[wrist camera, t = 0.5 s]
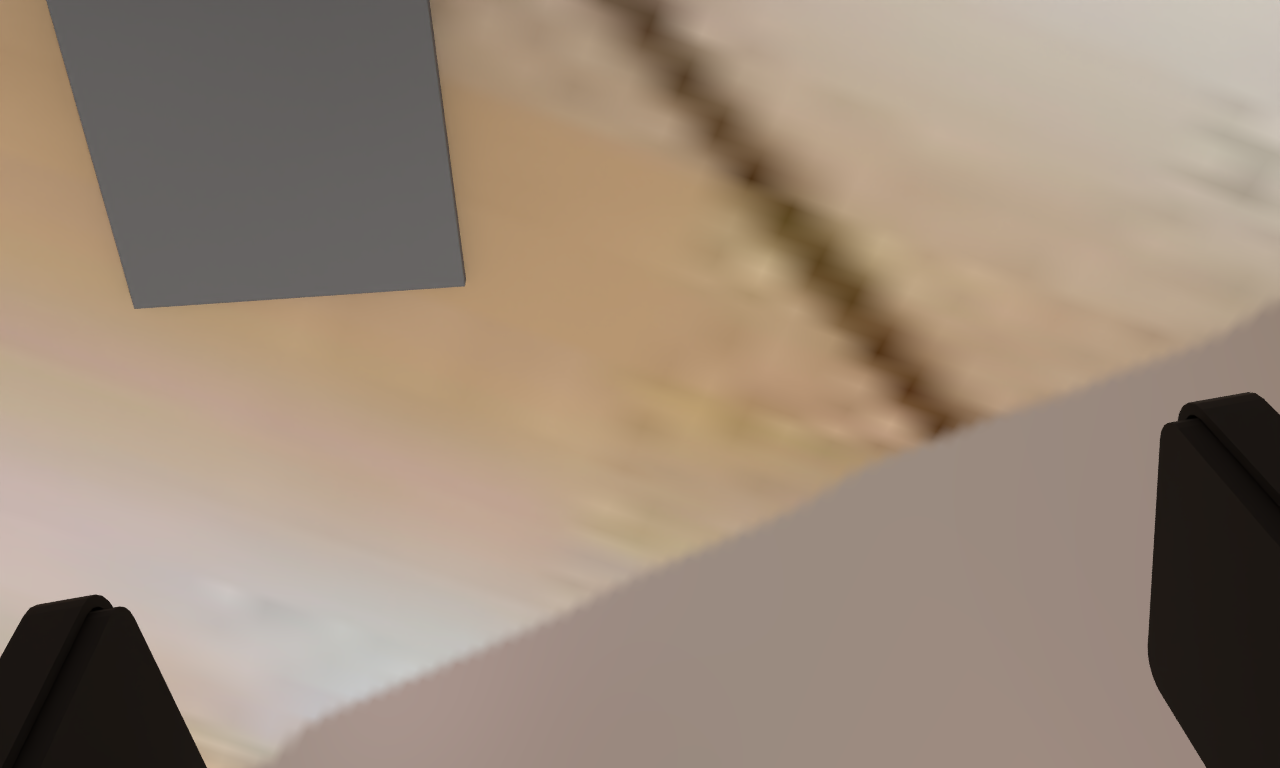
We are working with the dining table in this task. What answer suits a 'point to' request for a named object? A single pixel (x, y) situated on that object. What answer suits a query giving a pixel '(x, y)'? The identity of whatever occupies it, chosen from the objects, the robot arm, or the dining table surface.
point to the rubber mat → (266, 145)
